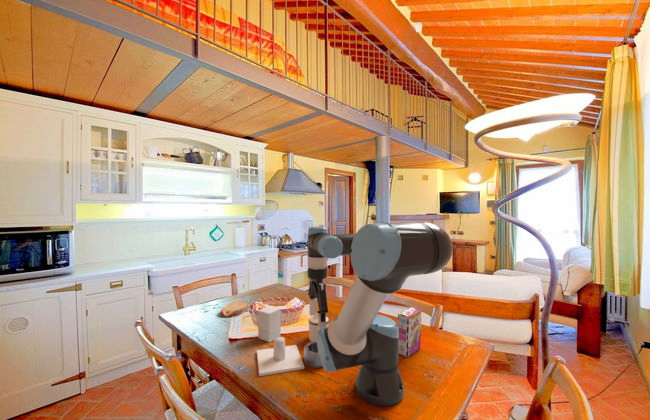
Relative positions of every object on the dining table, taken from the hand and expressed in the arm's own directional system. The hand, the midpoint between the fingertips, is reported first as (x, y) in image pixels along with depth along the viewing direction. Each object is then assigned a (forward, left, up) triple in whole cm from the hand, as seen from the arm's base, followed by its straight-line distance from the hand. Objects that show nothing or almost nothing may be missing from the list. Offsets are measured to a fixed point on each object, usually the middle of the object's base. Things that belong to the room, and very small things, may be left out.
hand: (317, 322), depth 106 cm
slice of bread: (+62, +32, -15) cm, 71 cm away
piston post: (+4, +14, -15) cm, 21 cm away
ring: (0, 0, -15) cm, 15 cm away
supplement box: (+24, +16, -15) cm, 32 cm away
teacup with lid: (+17, -6, -15) cm, 23 cm away
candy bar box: (-4, -38, -15) cm, 41 cm away
